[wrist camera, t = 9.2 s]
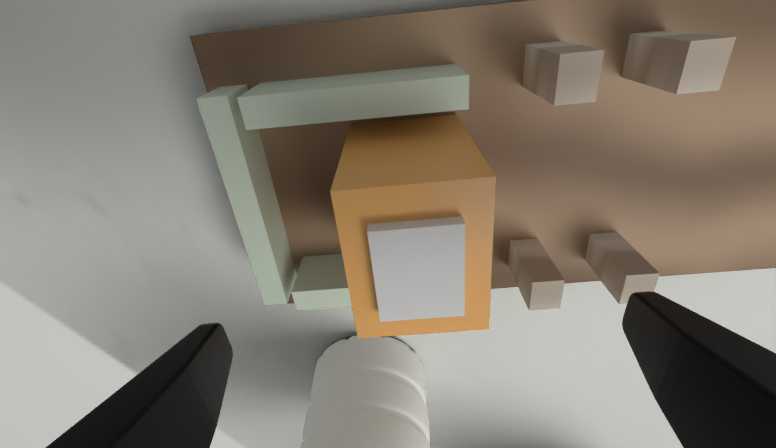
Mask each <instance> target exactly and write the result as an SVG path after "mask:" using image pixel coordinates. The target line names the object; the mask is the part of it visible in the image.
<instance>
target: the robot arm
mask: <svg viewBox="0 0 776 448" xmlns="http://www.w3.org/2000/svg"><path fill="white" fill-rule="evenodd" d="M622 325H623V330H624V333H625V335H626V337H627V339H628V342H629V344H630V346H631V348H632V350H633V352H634V355H635V357H636V359H637V361H638V363H639V366H640V368H641V370H642V372H643V374H644V376H645V379H646V381H647V383H648V385H649V387H650V389H651V391H652V393H653V395H654V397H655V399H656V401H657V403H658V405H659V406H660V408H661V410H662V412H663V413H664V415H665V417H666V418H667V420H668V422H669V424H670V425H671V427H672V429H673V430H674V432H675V434H676V435H677V437H678V439H679V441H680V442H681V444H682V446H683V447H684V448H776V353H774V352H772V351H770V350H768V349H766V348H764V347H762V346H760V345H758V344H756V343H754V342H752V341H750V340H748V339H746V338H744V337H742V336H740V335H738V334H736V333H734V332H732V331H731V330H729V329H727V328H725V327H723V326H721V325H719V324H717V323H715V322H713V321H711V320H709V319H707V318H705V317H703V316H701V315H699V314H697V313H695V312H693V311H691V310H689V309H687V308H685V307H683V306H681V305H679V304H677V303H675V302H673V301H671V300H670V299H668V298H666V297H664V296H662V295H660V294H658V293H655V292H652V291H646V292H635V293H632V294H631V295H630V297H629V299H628V303H627V306H626V310H625V313H624V317H623V321H622ZM232 356H233V351H232V347H231V344H230V342H229V340H228V337H227V335H226V333H225V330H224V328H223V326H222V325H221V324H220V323H208V324H202V325H200V326H198V327H197V328H196V329H194V330H193V331H192V332H191V333H189V334H188V335H187V336H186V337H184V338H183V339H182V340H180V341H179V342H178V343H177V344H175V345H174V346H173V347H172V348H170V349H169V350H168V351H167V352H165V353H164V354H163V355H162V356H160V357H159V358H158V359H157V360H155V361H154V362H153V363H152V364H150V365H149V366H148V367H147V368H145V369H144V370H143V371H141V372H140V373H139V374H138V375H136V376H135V377H134V378H133V379H131V380H130V381H129V382H128V383H126V384H125V385H124V386H123V387H121V388H120V389H119V390H118V391H116V392H115V393H114V394H113V395H111V396H110V397H109V398H108V399H106V400H105V401H104V402H102V403H101V404H100V405H99V406H98V407H96V408H95V409H94V410H92V411H91V412H90V413H89V414H87V415H86V416H85V417H84V418H82V419H81V420H80V421H79V422H77V423H76V424H75V425H74V426H72V427H71V428H70V429H68V430H67V431H66V432H65V433H63V434H62V435H61V436H60V437H58V438H57V439H56V440H55V441H53V442H52V443H51V444H50V445H49V446H47V447H46V448H209V447H210V444H211V441H212V438H213V435H214V432H215V429H216V426H217V422H218V418H219V415H220V410H221V406H222V401H223V397H224V393H225V388H226V384H227V380H228V375H229V371H230V366H231V362H232Z"/></svg>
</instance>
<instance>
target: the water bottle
mask: <svg viewBox="0 0 776 448" xmlns="http://www.w3.org/2000/svg"><path fill="white" fill-rule="evenodd" d="M429 442H430V429H429V419H428V413H427V409H426V388H425V377H424V370H423V366H422V363H421V361H420V359H419V357H418V356H417V354H416V353H415V352H414V351H412V350H410V348H409V347H408V346H407V345H406V344H404V343H402V342H400V341H398V340H396V339H394V338H391V337H383V338H381V337H371V338H358V336H357V335H355V336H352V337H350V338H349V339H347V340H346V339H342V340H339V341H337V342H335V343H334V344H332V345H331V346H329V347H328V348H327V349H326V350H325V351H324V352H323V354H322V356H321V357H320V358H319V359H318V362H317V364H316V368H315V372H314V377H313V382H312V387H311V393H310V404H309V407H308V410H307V414H306V419H305V424H304V431H303V442H302V445H301V448H430V445H429Z"/></svg>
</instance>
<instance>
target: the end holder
mask: <svg viewBox="0 0 776 448" xmlns="http://www.w3.org/2000/svg"><path fill="white" fill-rule="evenodd" d="M196 101H197V104H198V107H199V110H200V113H201V116H202V119H203V122H204V125H205V128H206V131H207V134H208V137H209V140H210V143H211V146H212V149H213V152H214V155H215V158H216V161H217V164H218V167H219V170H220V173H221V176H222V179H223V182H224V185H225V188H226V191H227V194H228V197H229V200H230V203H231V206H232V209H233V212H234V215H235V218H236V221H237V224H238V227H239V231H240V234H241V237H242V240H243V243H244V246H245V249H246V252H247V255H248V258H249V261H250V264H251V267H252V270H253V273H254V276H255V279H256V282H257V285H258V288H259V291H260V294H261V297H262V300H263V303H264V305H276V304H287V303H288V300H289V297H290V294H291V293H292V296H293V300H294V304H295V307H296V311H303V310H316V309H330V308H344V307H352V304H351V299H350V294H349V288H348V283H347V278H346V273H345V267H344V262H343V257H342V254H330V255H317V256H305V257H303V258H302V261H301V264H300V267H299V270H298V274H297V273H296V270H295V266H294V262H293V258H292V254H291V250H290V247H289V243H288V239H287V235H286V231H285V228H284V224H283V220H282V216H281V212H280V209H279V205H278V201H277V197H276V193H275V190H274V186H273V182H272V178H271V174H270V170H269V167H268V163H267V159H266V155H265V151H264V148H263V144H262V140H261V136H260V132H259V129H263V128H274V127H285V126H295V125H306V124H317V123H327V122H338V121H349V120H360V119H370V118H381V117H392V116H403V115H413V114H424V113H435V112H445V111H456V110H467V109H469V74H468V73H466V72H465V71H464V70H463V69H462V68H460V67H459V66H458V65H457V64H447V65H437V66H427V67H417V68H407V69H397V70H387V71H376V72H366V73H356V74H346V75H336V76H326V77H315V78H305V79H295V80H285V81H275V82H265V83H260V84H258V85H256V86H255V87H253V88H252V89H250V90H248V87H247V84H244V85H234V86H224V87H219V88H217V89H215V90H212V91H210V92H208V93H206V94H204V95H202V96H200V97H198V98H196ZM296 276H297V277H296ZM295 279H296V280H295ZM294 282H295V283H294ZM293 285H294V286H293ZM292 288H293V289H292ZM291 291H292V292H291Z"/></svg>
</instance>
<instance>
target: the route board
mask: <svg viewBox="0 0 776 448" xmlns="http://www.w3.org/2000/svg"><path fill="white" fill-rule="evenodd" d="M190 38H191V41H192V45H193V48H194V51H195V54H196V57H197V60H198V64H199V67H200V70H201V73H202V76H203V80H204V83H205V86H206V89H207V92H210V91H212V90H215V89H217V88H219V87H224V86H234V85H244V84H247V87H248V90H250V89H252V88H253V87H255V86H256V85H258V84H260V83H265V82H275V81H285V80H295V79H305V78H315V77H326V76H336V75H346V74H356V73H366V72H376V71H387V70H397V69H407V68H417V67H427V66H437V65H447V64H457V65H458V66H459V67H460V68H462V69H463V70H464V71H465V72H466V73H468V74H469V109H467V110H456V111H445V112H435V113H424V114H413V115H403V116H392V117H381V118H370V119H360V120H349V121H338V122H327V123H317V124H306V125H295V126H285V127H274V128H263V129H259V132H260V136H261V140H262V144H263V148H264V151H265V155H266V159H267V163H268V167H269V170H270V174H271V178H272V182H273V186H274V190H275V193H276V197H277V201H278V205H279V209H280V212H281V216H282V220H283V224H284V228H285V231H286V235H287V239H288V243H289V247H290V250H291V254H292V258H293V262H294V266H295V270H296V273H297V274H298V270H299V267H300V264H301V261H302V258H303V257H305V256H317V255H330V254H342V251H341V246H340V241H339V235H338V230H337V225H336V220H335V214H334V209H333V204H332V198H331V193H330V190H331V187H332V184H333V180H334V177H335V174H336V170H337V167H338V164H339V160H340V157H341V154H342V150H343V147H344V144H345V140H346V137H347V134H348V131H349V127H350V124H360V123H370V122H380V121H390V120H401V119H411V118H421V117H431V116H441V115H452V114H456V115H457V116H458V118H459V119H460V121H461V122H462V124H463V126H464V127H465V129H466V130H467V132H468V133H469V135H470V136H471V138H472V140H473V141H474V143H475V144H476V146H477V147H478V149H479V151H480V152H481V154H482V155H483V157H484V158H485V160H486V162H487V163H488V165H489V166H490V168H491V169H492V171H493V173H494V174H495V176H496V187H495V209H494V230H493V251H492V272H491V289H493V288H507V287H518V288H519V290H520V292H521V294H522V296H523V298H524V300H525V303H526V305H527V307H528V309H529V310H541V309H555V308H560V304H561V298H562V293H563V287H564V283H575V282H588V281H602V283H603V284H604V285H605V287H606V288H607V289H608V290H609V292H610V293H611V294H612V296H613V297H614V298H615V299H616V301H617V302H618V303H619V304H626V303H628V299H629V297H630V295H631V294H632V293H635V292H646V291H652V292H654V289H655V286H656V283H657V280H658V277H659V276H670V275H684V274H697V273H711V272H725V271H738V270H752V269H765V268H776V0H523V1H514V2H504V3H495V4H485V5H476V6H466V7H457V8H447V9H437V10H428V11H418V12H409V13H399V14H390V15H380V16H371V17H361V18H351V19H342V20H332V21H323V22H313V23H304V24H294V25H285V26H275V27H265V28H256V29H246V30H237V31H227V32H218V33H208V34H201V35H194V36H190ZM296 277H297V276H296ZM295 280H296V279H295ZM294 283H295V282H294ZM293 286H294V285H293ZM292 289H293V288H292ZM291 292H292V291H291ZM289 303H294V300H293V296H292V293H291V294H290V297H289V300H288V303H287V304H289Z"/></svg>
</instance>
